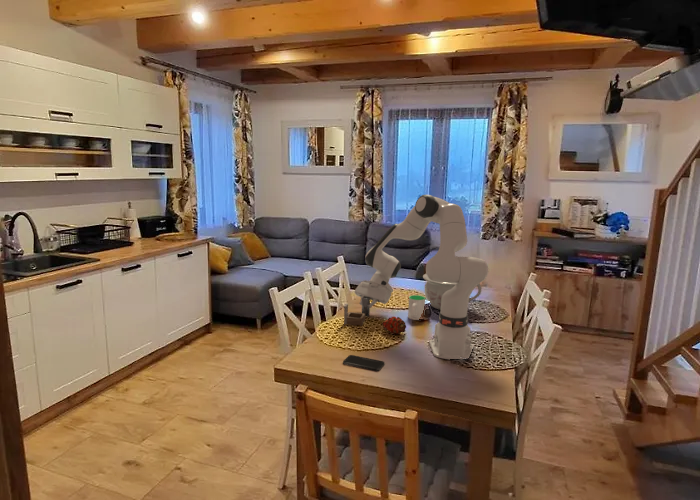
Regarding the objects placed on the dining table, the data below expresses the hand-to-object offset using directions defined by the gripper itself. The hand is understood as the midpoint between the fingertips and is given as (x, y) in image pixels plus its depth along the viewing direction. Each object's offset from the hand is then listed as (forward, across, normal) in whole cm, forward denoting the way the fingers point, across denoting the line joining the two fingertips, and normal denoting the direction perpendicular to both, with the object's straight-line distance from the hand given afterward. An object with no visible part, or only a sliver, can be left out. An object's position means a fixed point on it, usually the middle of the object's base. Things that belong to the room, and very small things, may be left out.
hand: (365, 305), depth 229 cm
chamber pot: (-27, +22, +34) cm, 49 cm away
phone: (+34, +36, -26) cm, 56 cm away
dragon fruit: (+10, +25, -2) cm, 27 cm away
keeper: (+12, +3, -4) cm, 13 cm away
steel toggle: (+3, 0, +4) cm, 5 cm away
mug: (-7, +20, +15) cm, 26 cm away
